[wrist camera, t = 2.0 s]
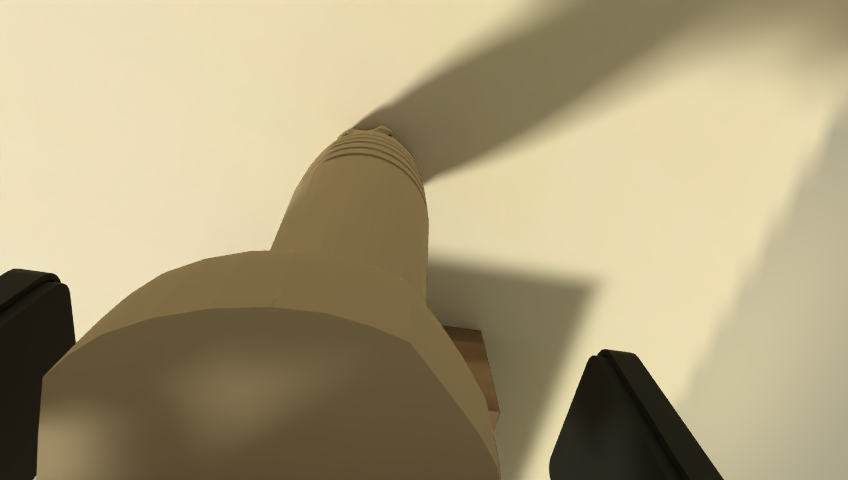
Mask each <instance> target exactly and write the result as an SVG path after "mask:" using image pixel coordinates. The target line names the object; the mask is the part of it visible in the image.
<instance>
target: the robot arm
mask: <svg viewBox="0 0 848 480" xmlns="http://www.w3.org/2000/svg"><path fill="white" fill-rule="evenodd" d="M75 344H76V341H75V333H74V324H73V315H72V307H71V298H70V291H69V288H68V287H67V285H65V284H63V283H61V282H60V279H59V278H58V276H57V275H55V274H53V273H46V272H39V271H32V270H24V269H12V270H10V271H7V272H6V273H4V274H2V275H1V276H0V480H33V479H34V477H35V476H36V475H37V450H38V430H39V418H40V405H41V393H42V380H43V376H44V375H45V374H46V373H47V372H48V371H49V370H50V369H51V368H52V367H53V366H54V365H55V364H56V363H57V362H58V361H59V360H60V359H61V358H62V357H63V356H64V355H65V354H66V353H67V352H68V351H69V350H70V349H71V348H72V347H73V346H74V345H75ZM549 474H550V479H551V480H724V479H723V478H722V477H721V475H720V474H719V472H718V471H717V470H716V468H715V466H714V465H713V464H712V462H711V461H710V459H709V458H708V456H707V455H706V454H705V452H704V451H703V449H702V448H701V446H700V445H699V444H698V442H697V441H696V439H695V438H694V436H693V435H692V434H691V432H690V431H689V429H688V428H687V426H686V425H685V424H684V422H683V421H682V419H681V418H680V416H679V415H678V414H677V412H676V411H675V409H674V408H673V406H672V405H671V404H670V402H669V401H668V399H667V398H666V396H665V395H664V394H663V392H662V391H661V389H660V388H659V386H658V385H657V384H656V382H655V381H654V379H653V378H652V376H651V375H650V373H649V372H648V371H647V369H646V368H645V366H644V365H643V363H642V362H641V361H640V359H639V358H638V357H637V356H636V355H635V354H633V353H629V352H622V351H614V350H607V349H604V350H601V351H600V352H599V353H598V355H597V356H591V357H590V358H589V360H588V362H587V364H586V367H585V370H584V372H583V375H582V377H581V380H580V383H579V385H578V388H577V390H576V393H575V396H574V398H573V401H572V403H571V406H570V408H569V411H568V414H567V416H566V419H565V421H564V424H563V427H562V429H561V432H560V434H559V437H558V440H557V442H556V445H555V447H554V450H553V453H552V455H551V458H550V463H549Z"/></svg>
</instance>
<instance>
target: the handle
mask: <svg viewBox="0 0 848 480" xmlns="http://www.w3.org/2000/svg"><path fill="white" fill-rule="evenodd" d="M428 234H429V219H428V211H427V204H426V198H425V192H424V187H423V184H422V180H421V176H420V174H419V171H418V168H417V166H416V163H415V160H414V158H413V156H412V155H411V154H410V153H409V152H408V151H407V150H406V149H405V147H404V146H403V145H402V144H401V143H400V142H398V141H397V140H396V139H395V137H394V135H393V132H392V130H391V129H390V128H387V127H385V126H382V125H380V126H378V127H377V128H375V129H372V130H367V131H361V130H356V129H354V128H351V129H348V130H347V131H345V132H343V133H342V134H341V135H340V136H339V137H338V138H337V140H336V141H335V142H333V143H332V144H331V145H330V146H328V147H327V148H326V149H325V150H324V151H323V152H322V153H321V154H320V155H319V156H318V157H317V158H316V160H315V161H314V162H313V163H312V164H311V166H310V167H309V168H308V170H307V171H306V173H305V175H304V176H303V178H302V180H301V181H300V183H299V185H298V186H297V188H296V189H295V191H294V193H293V196H292V198H291V201H290V203H289V206H288V208H287V211H286V213H285V216H284V218H283V220H282V223H281V225H280V228H279V230H278V233H277V235H276V238H275V240H274V243H273V245H272V247H271V250H270V251H249V252H243V253H237V254H231V255H225V256H220V257H214V258H208V259H204V260H201V261H198V262H195V263H192V264H189V265H186V266H183V267H180V268H177V269H174V270H171V271H168V272H166V273H164V274H161V275H160V276H158V277H156V278H155V279H153V280H152V281H150V282H148V283H147V284H145V285H144V286H142V287H141V288H139V289H137V290H136V291H134V292H133V293H131V294H130V295H129V296H127V297H126V298H125V299H124V300H122V301H121V302H120V303H119V304H118V305H117V306H115V307H114V308H113V309H112V310H111V311H110V312H109V313H107V314H106V315H105V316H104V317H103V318H102V319H101V320H99V321H98V322H97V323H96V324H95V325H94V326H93V327H92V328H91V329H90V330H89V331H88V332H87V333H86V334H85V335H84V336H83V337H82V338H81V339H80V340H79V341H78V342H77V343H76V344H75V345H74V346H73V347H72V348H71V349H70V350H69V351H68V352H67V353H66V354H65V355H64V356H63V357H62V358H61V359H60V360H59V361H58V362H57V363H56V364H55V365H54V366H53V367H52V368H51V369H50V370H49V371H48V372H47V373H46V374H45V375H44V376H43V380H42V393H41V405H40V418H39V430H38V450H37V480H501V474H500V466H499V460H498V455H497V449H496V444H495V438H494V434H493V429H492V424H491V420H490V416H489V411H488V407H487V403H486V398H485V396H484V395H483V393H482V391H481V389H480V387H479V386H478V384H477V382H476V380H475V378H474V377H473V375H472V373H471V371H470V369H469V368H468V366H467V364H466V362H465V360H464V358H463V357H462V355H461V354H460V352H459V351H458V349H457V348H456V346H455V345H454V343H453V342H452V340H451V339H450V337H449V336H448V334H447V333H446V331H445V330H444V328H443V327H442V325H441V324H440V323H439V321H438V320H437V319H436V317H435V316H434V315H433V313H432V312H431V310H430V309H429V308H428V306H427V305H426V283H427V258H428Z"/></svg>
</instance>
